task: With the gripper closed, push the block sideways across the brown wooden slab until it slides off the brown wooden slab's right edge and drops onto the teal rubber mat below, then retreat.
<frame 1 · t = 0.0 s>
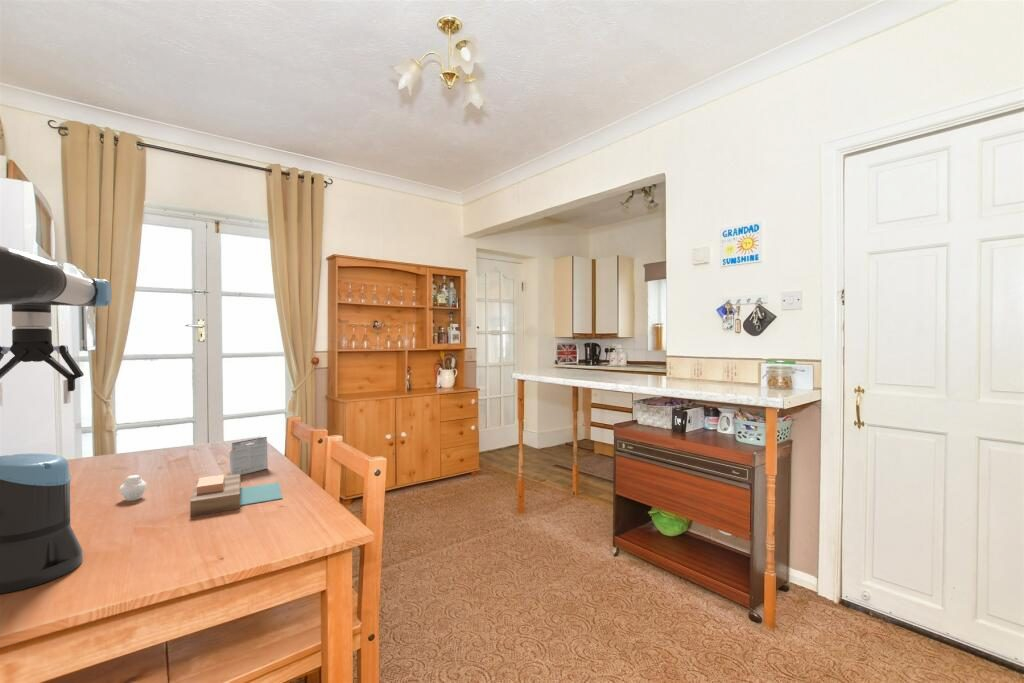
hand: (33, 405, 125), 28 cm above the table, fingers open, 13 cm apart
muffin: (133, 499, 130), on the table
mat: (259, 493, 134), on the table
brown wooden slab: (217, 500, 129), on the table
block: (211, 487, 128), point 4 cm above the table, touching brown wooden slab
ink box: (249, 473, 156), on the table
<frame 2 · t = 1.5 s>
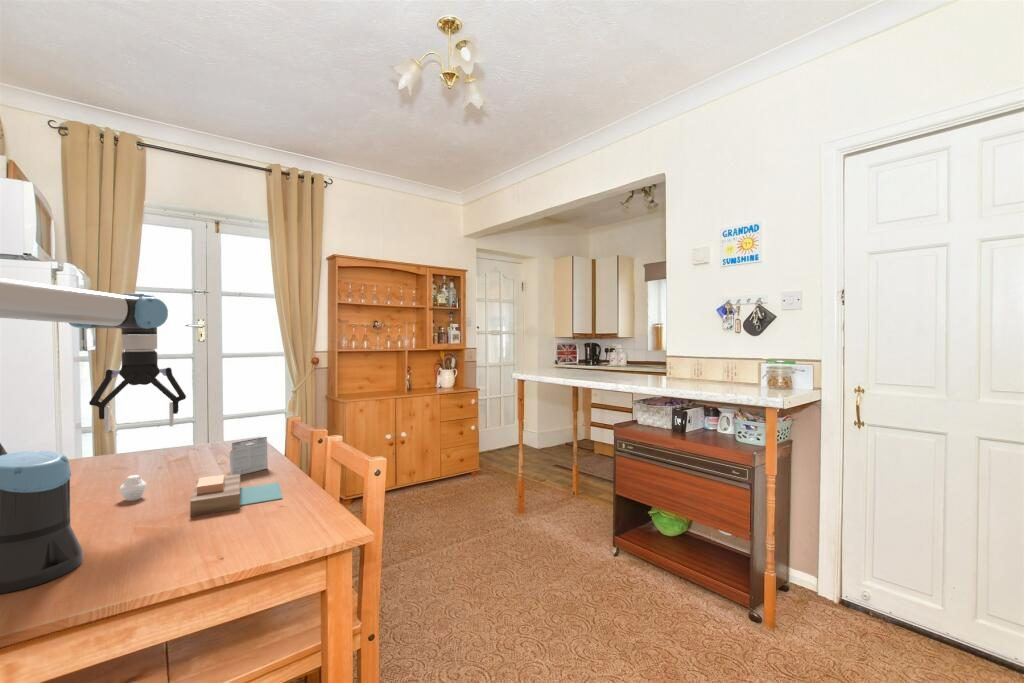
hand: (140, 428, 123), 22 cm above the table, fingers open, 13 cm apart
nothing on the table moved.
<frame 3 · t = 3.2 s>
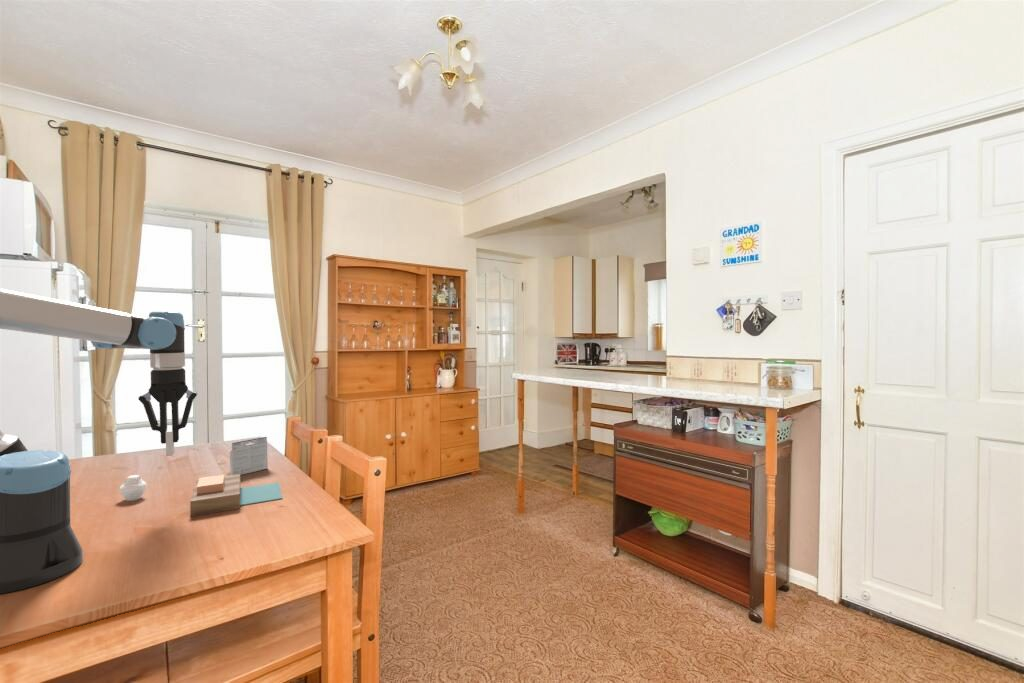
hand: (170, 454, 124), 15 cm above the table, fingers closed
nothing on the table moved.
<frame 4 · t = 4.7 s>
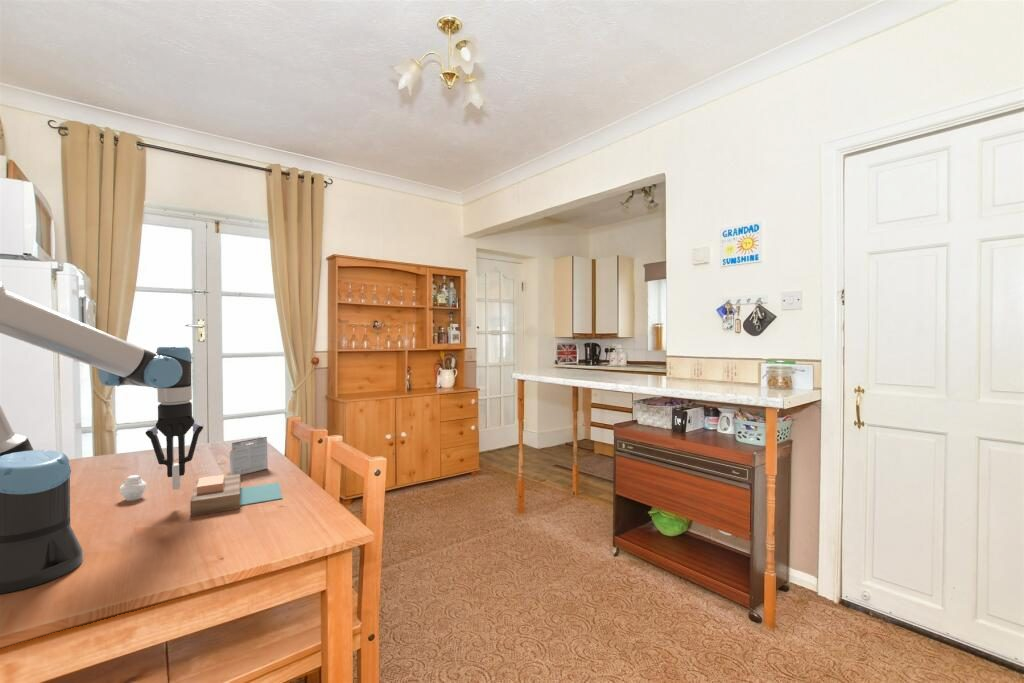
hand: (176, 487, 124), 5 cm above the table, fingers closed
nothing on the table moved.
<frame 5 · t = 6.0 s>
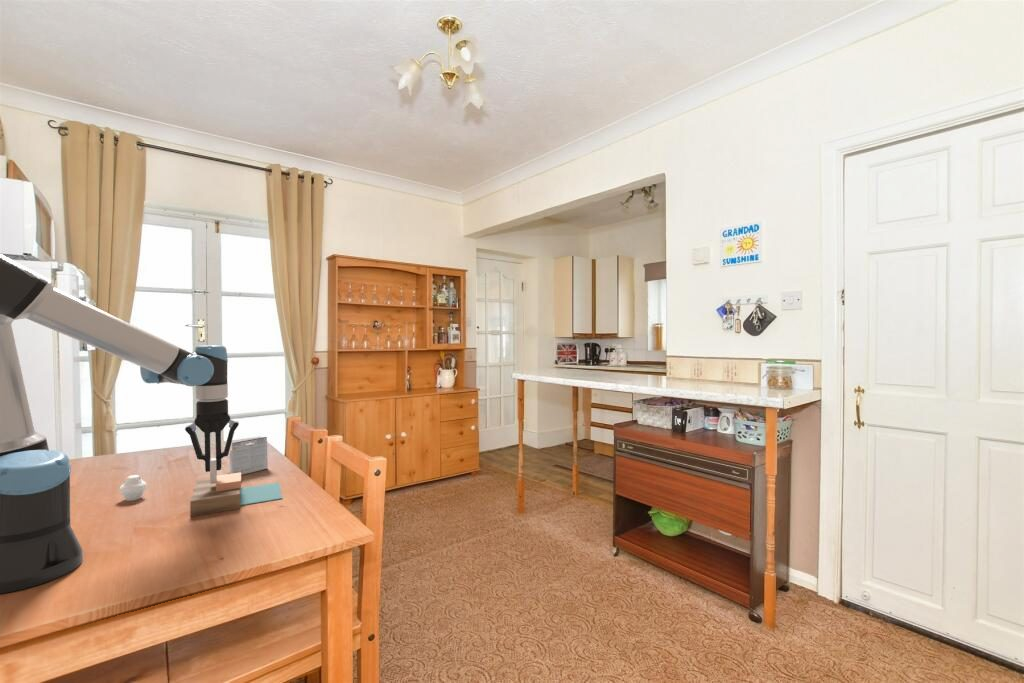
hand: (213, 482, 129), 5 cm above the table, fingers closed
block: (229, 485, 130), point 4 cm above the table, touching gripper
everything else where it was.
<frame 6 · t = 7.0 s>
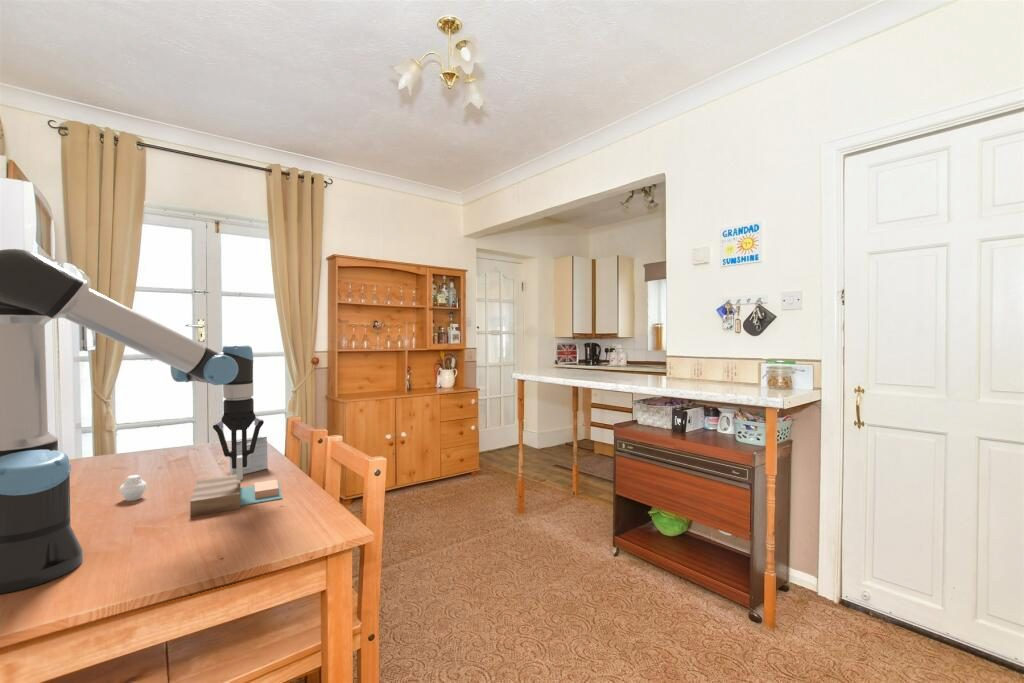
hand: (239, 478, 132), 5 cm above the table, fingers closed
block: (266, 485, 135), point 2 cm above the table, tilted 180°, touching mat
everything else where it was.
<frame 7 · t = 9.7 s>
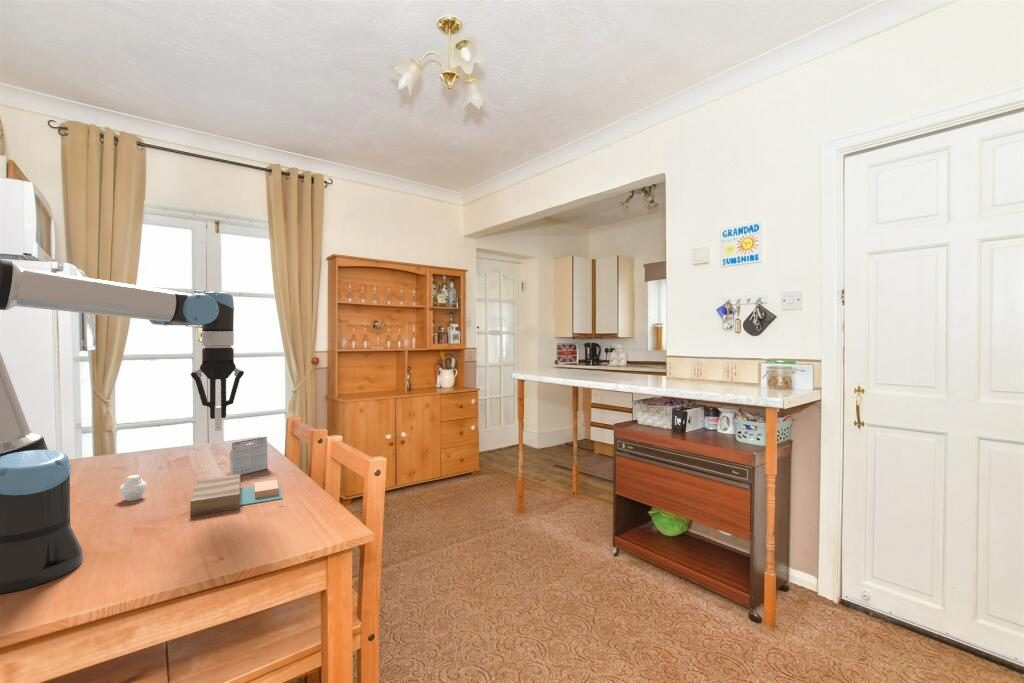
hand: (218, 429, 129), 20 cm above the table, fingers closed
nothing on the table moved.
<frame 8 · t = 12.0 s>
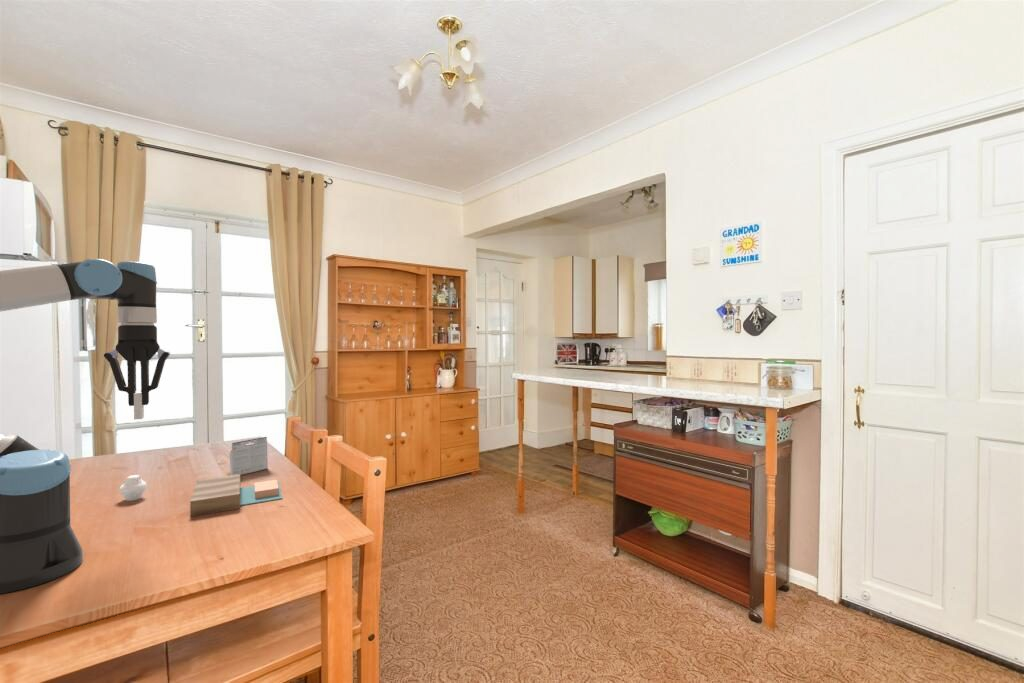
hand: (139, 418, 114), 26 cm above the table, fingers closed
nothing on the table moved.
at the end: block point 2.3 cm above the table; block inside the target area on the mat (1.7 cm from its centre), point 2.3 cm above the mat's base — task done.
